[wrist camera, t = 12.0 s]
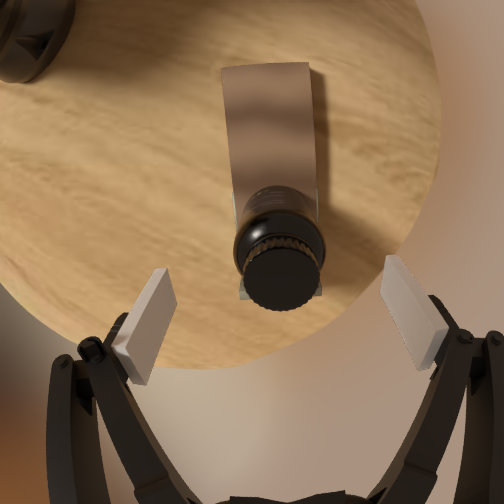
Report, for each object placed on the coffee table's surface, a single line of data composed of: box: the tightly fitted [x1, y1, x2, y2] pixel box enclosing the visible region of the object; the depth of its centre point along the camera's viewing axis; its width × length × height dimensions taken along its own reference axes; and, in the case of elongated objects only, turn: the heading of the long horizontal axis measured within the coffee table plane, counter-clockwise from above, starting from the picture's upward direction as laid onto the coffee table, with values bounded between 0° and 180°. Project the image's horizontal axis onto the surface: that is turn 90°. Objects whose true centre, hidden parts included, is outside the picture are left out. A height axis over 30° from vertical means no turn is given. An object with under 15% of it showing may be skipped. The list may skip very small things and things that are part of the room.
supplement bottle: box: [233, 185, 326, 311], centre depth 22 cm, size 7×7×12 cm
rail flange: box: [221, 62, 322, 300], centre depth 25 cm, size 22×8×6 cm, turn 5°
